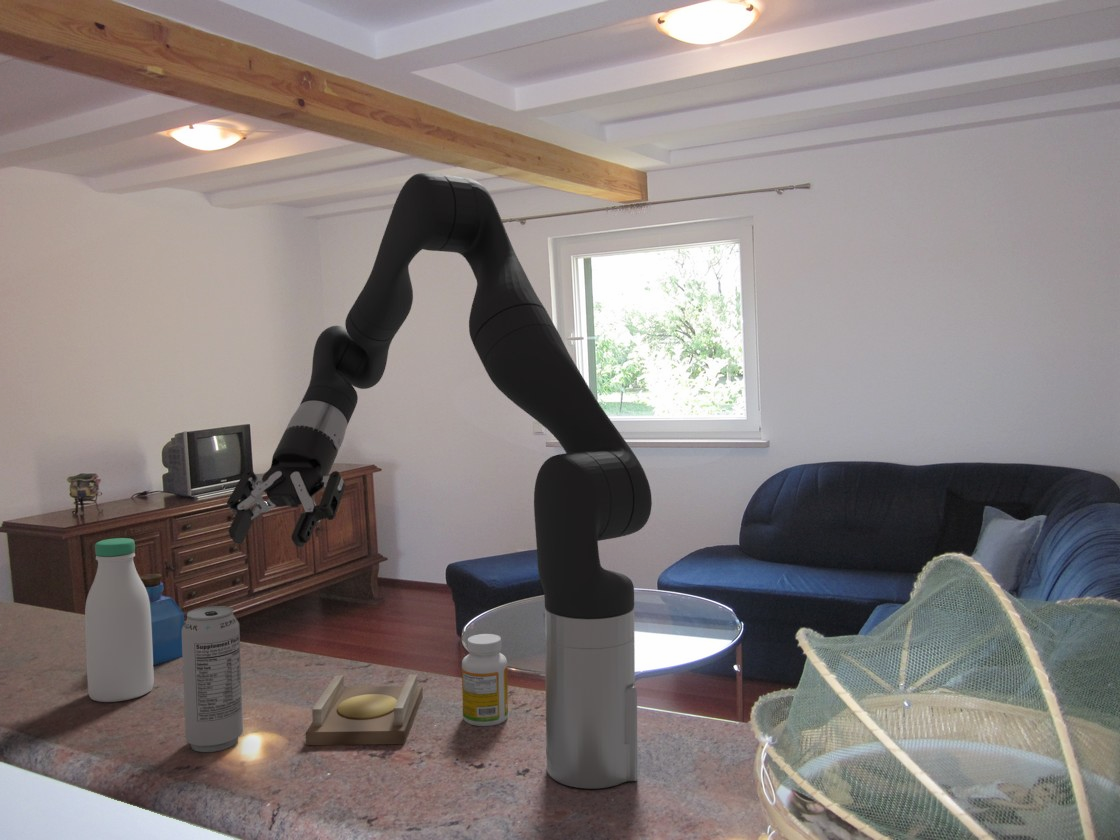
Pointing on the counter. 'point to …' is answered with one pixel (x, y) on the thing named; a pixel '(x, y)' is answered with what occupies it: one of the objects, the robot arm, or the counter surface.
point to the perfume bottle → (163, 621)
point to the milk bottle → (118, 626)
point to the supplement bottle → (484, 681)
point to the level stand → (364, 713)
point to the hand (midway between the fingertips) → (265, 541)
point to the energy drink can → (212, 678)
